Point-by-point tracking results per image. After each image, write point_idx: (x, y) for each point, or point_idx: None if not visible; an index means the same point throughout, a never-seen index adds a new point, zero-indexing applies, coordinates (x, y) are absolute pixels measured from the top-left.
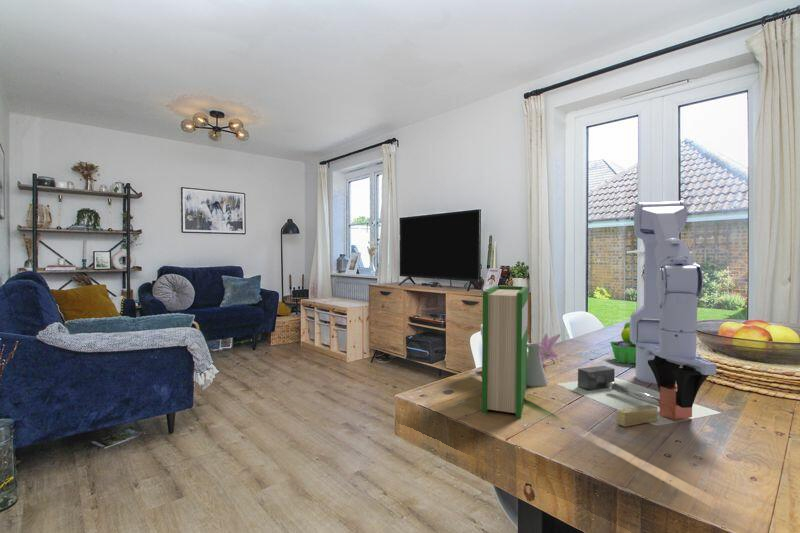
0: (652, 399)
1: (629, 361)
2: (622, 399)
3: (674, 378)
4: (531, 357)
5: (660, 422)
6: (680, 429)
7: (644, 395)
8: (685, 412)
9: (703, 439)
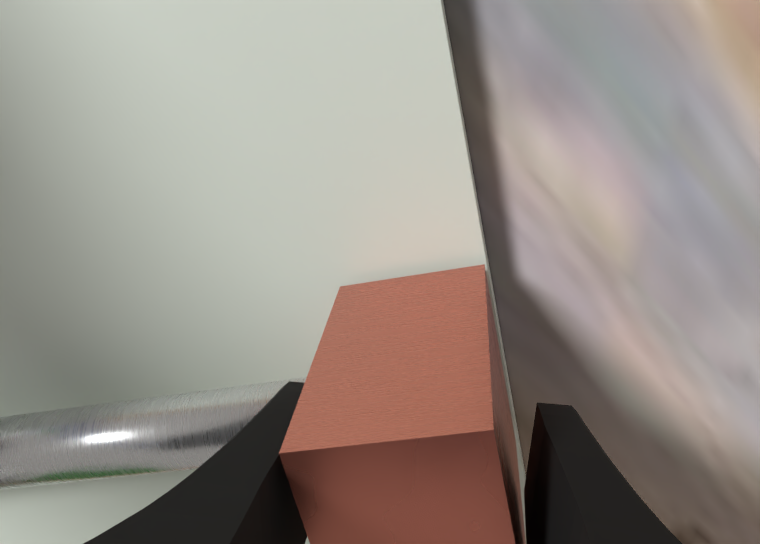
0: None
1: None
2: None
3: (252, 522)
4: None
5: None
6: (547, 395)
7: (150, 470)
8: (500, 369)
9: (731, 384)
